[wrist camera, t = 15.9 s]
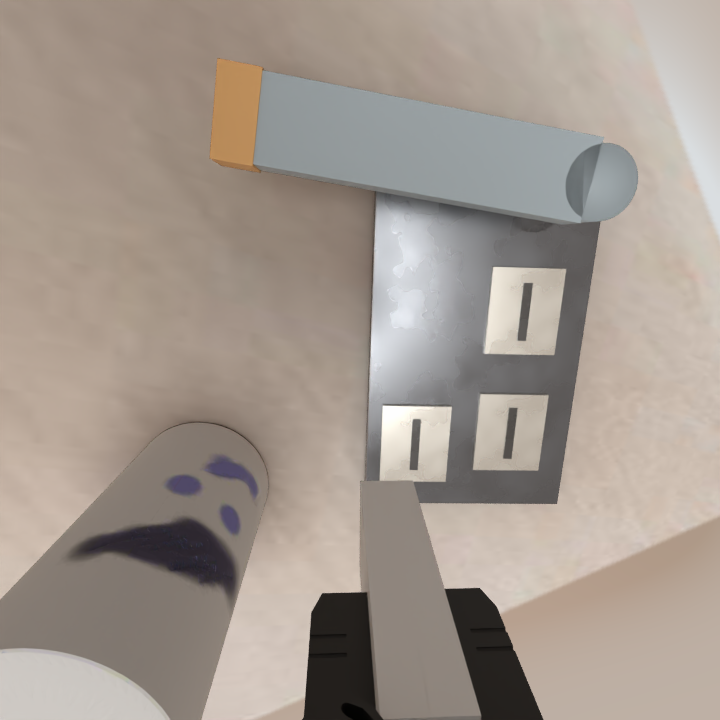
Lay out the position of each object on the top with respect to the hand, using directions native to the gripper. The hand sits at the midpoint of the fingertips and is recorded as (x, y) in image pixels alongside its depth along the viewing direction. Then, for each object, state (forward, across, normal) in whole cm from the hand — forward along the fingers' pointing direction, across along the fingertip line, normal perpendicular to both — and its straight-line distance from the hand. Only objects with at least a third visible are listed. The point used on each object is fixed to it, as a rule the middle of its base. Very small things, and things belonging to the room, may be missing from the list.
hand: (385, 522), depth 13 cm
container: (+21, -12, -11) cm, 26 cm away
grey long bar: (+14, +3, +12) cm, 19 cm away
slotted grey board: (+21, +8, 0) cm, 22 cm away
